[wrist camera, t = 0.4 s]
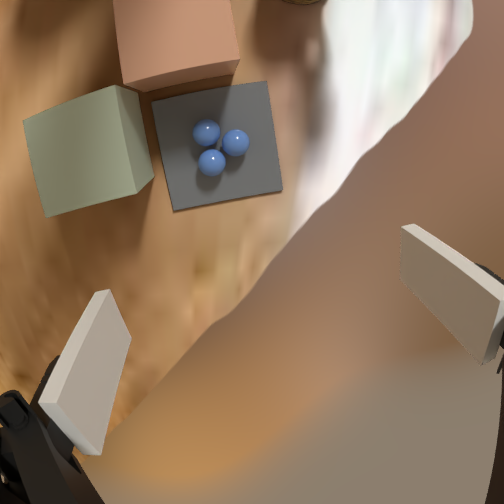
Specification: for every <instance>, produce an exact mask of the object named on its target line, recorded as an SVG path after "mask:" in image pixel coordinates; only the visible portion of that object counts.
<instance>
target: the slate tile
mask: <svg viewBox="0 0 504 504" xmlns="http://www.w3.org/2000/svg"><path fill="white" fill-rule="evenodd" d="M151 104H152V110H153V115H154V120H155V126H156V131H157V136H158V141H159V146H160V151H161V156H162V160H163V165H164V170H165V174H166V179H167V184H168V188H169V192H170V197H171V201H172V205H173V210H179V209H184V208H189V207H194V206H199V205H204V204H209V203H214V202H219V201H225V200H230V199H235V198H241V197H246V196H252V195H257V194H263V193H269V192H275V191H281V190H283V186H282V179H281V172H280V165H279V158H278V151H277V144H276V138H275V131H274V124H273V118H272V112H271V105H270V99H269V93H268V87H267V81H261V82H254V83H246V84H239V85H233V86H227V87H221V88H215V89H209V90H204V91H199V92H194V93H189V94H184V95H180V96H175V97H171V98H167V99H162V100H158V101H154V102H151ZM203 119H211V120H213V121H215V122H216V123H217V124H218V125H219V128H220V137H219V139H218V141H217V142H216V143H214V144H213V145H211V146H201V145H199V144H198V143H196V142H195V140H194V138H193V135H192V131H193V127H194V126H195V124H196V123H197V122H198V121H200V120H203ZM233 129H239V130H242V131H244V132H245V133H246V134H247V135H248V137H249V140H250V145H249V148H248V150H247V152H246V153H244V154H243V155H241V156H231V155H228V154H227V153H226V152H225V151H224V149H223V147H222V139H223V136H224V135H225V134H226V133H227V132H228V131H230V130H233ZM209 149H215V150H218V151H220V152H221V153H222V154H223V155H224V157H225V160H226V165H225V168H224V170H223V172H222V173H220V174H219V175H217V176H213V177H211V176H206V175H204V174H203V173H202V172H201V171H200V169H199V166H198V160H199V157H200V155H201V154H202V153H203V152H204V151H206V150H209Z"/></svg>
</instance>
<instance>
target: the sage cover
mask: <svg viewBox="0 0 504 504" xmlns="http://www.w3.org/2000/svg"><path fill="white" fill-rule="evenodd" d="M23 125H24V131H25V136H26V141H27V146H28V151H29V156H30V160H31V165H32V169H33V173H34V177H35V181H36V185H37V189H38V192H39V196H40V200H41V203H42V207H43V210H44V213H45V217H46V218H49V217H52V216H55V215H59V214H62V213H65V212H69V211H72V210H76V209H79V208H83V207H87V206H90V205H94V204H98V203H102V202H105V201H109V200H113V199H117V198H121V197H125V196H129V195H133V194H137V193H138V192H139V191H140V190H141V189H142V188H143V187H144V186H145V185H146V184H147V183H148V182H149V181H150V180H151V179H153V178H154V177H155V176H154V172H153V167H152V163H151V158H150V153H149V149H148V144H147V139H146V134H145V129H144V124H143V118H142V113H141V108H140V102H139V96H138V92H135V91H132V90H129V89H126V88H123V87H120V86H117V85H112V86H109V87H106V88H103V89H100V90H97V91H94V92H91V93H89V94H86V95H83V96H80V97H78V98H75V99H72V100H70V101H67V102H65V103H62V104H59V105H57V106H55V107H52V108H50V109H47V110H45V111H43V112H40V113H38V114H36V115H34V116H32V117H29V118H27V119H25V120H23Z"/></svg>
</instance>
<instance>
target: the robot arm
mask: <svg viewBox="0 0 504 504" xmlns="http://www.w3.org/2000/svg"><path fill="white" fill-rule="evenodd" d="M400 280H401V281H402V282H403V283H404V284H405V285H406V286H407V287H408V288H409V289H410V290H411V291H412V292H413V293H414V294H415V295H416V296H417V297H418V299H419V300H421V302H423V304H424V305H425V306H426V307H427V308H428V309H429V310H430V311H431V312H432V313H433V314H434V315H435V316H436V317H437V318H438V319H439V320H440V321H441V322H442V324H443V325H444V326H445V327H446V328H447V329H448V330H449V331H450V332H451V333H452V334H453V335H454V337H455V338H456V339H457V340H458V341H459V342H460V343H461V344H462V345H463V347H464V348H465V349H466V350H467V351H468V352H469V353H470V354H471V355H472V357H473V358H474V359H475V360H476V361H477V362H478V364H479V365H480V366H481V365H483V364H485V363H487V362H489V361H491V360H492V359H494V358H495V357H496V354H497V351H498V348H499V345H500V346H501V347H502V348H503V349H504V280H503V279H501V278H500V277H498V275H496V274H495V275H494V273H493V272H492V271H491V270H489V269H488V268H486V267H484V266H482V265H479V264H477V263H473V262H471V261H470V260H468V259H467V258H465V257H464V256H462V255H461V254H460V253H458V252H457V251H455V250H454V249H452V248H451V247H449V246H448V245H446V244H445V243H443V242H442V241H440V240H439V239H437V238H436V237H434V236H433V235H431V234H430V233H428V232H427V231H425V230H423V229H422V228H420V227H419V226H417V225H416V224H411V225H406V226H402V227H401V253H400ZM131 339H132V338H131V336H130V334H129V331H128V329H127V327H126V325H125V323H124V321H123V318H122V316H121V314H120V312H119V309H118V307H117V305H116V302H115V300H114V298H113V295H112V293H111V290H110V289H107V290H102V291H97V292H95V293H94V295H93V297H92V298H91V300H90V302H89V304H88V305H87V307H86V309H85V311H84V312H83V314H82V316H81V318H80V320H79V321H78V323H77V325H76V327H75V329H74V331H73V332H72V334H71V336H70V338H69V340H68V342H67V344H66V346H65V348H64V349H63V351H62V353H61V355H58V356H57V357H56V358H55V359H54V360H53V361H52V362H51V363H50V364H49V366H48V368H47V370H46V372H45V376H43V378H42V380H41V383H40V384H39V386H38V388H37V390H36V392H35V394H34V396H33V399H32V401H31V403H30V405H29V404H28V403H27V402H26V400H25V399H24V398H23V397H22V395H21V394H20V393H19V391H16V390H10V391H7V392H5V393H3V394H2V395H1V396H0V423H1V425H2V426H3V427H1V428H0V504H105V503H104V502H103V500H102V499H101V497H100V496H99V494H98V493H97V491H96V490H95V488H94V487H93V485H92V483H91V482H90V480H89V479H88V477H87V475H86V474H85V472H84V470H83V469H82V467H81V465H80V463H79V462H78V460H77V458H76V457H75V456H74V455H73V454H72V451H73V447H74V446H75V447H76V448H77V449H78V450H79V451H80V452H81V453H82V454H83V455H101V454H102V449H103V444H104V440H105V436H106V432H107V427H108V423H109V419H110V415H111V411H112V407H113V403H114V399H115V395H116V392H117V388H118V384H119V381H120V377H121V373H122V370H123V366H124V363H125V359H126V356H127V352H128V349H129V346H130V342H131ZM501 368H502V395H501V410H500V422H499V430H498V438H497V446H496V452H495V459H494V464H493V470H492V475H491V480H490V485H489V489H488V493H487V497H486V501H485V504H504V354H503V357H502V359H501V362H500V364H499V367H498V370H497V373H498V374H499V372H500V370H501ZM1 475H3V476H4V481H5V482H4V483H3V482H2V479H1Z"/></svg>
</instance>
